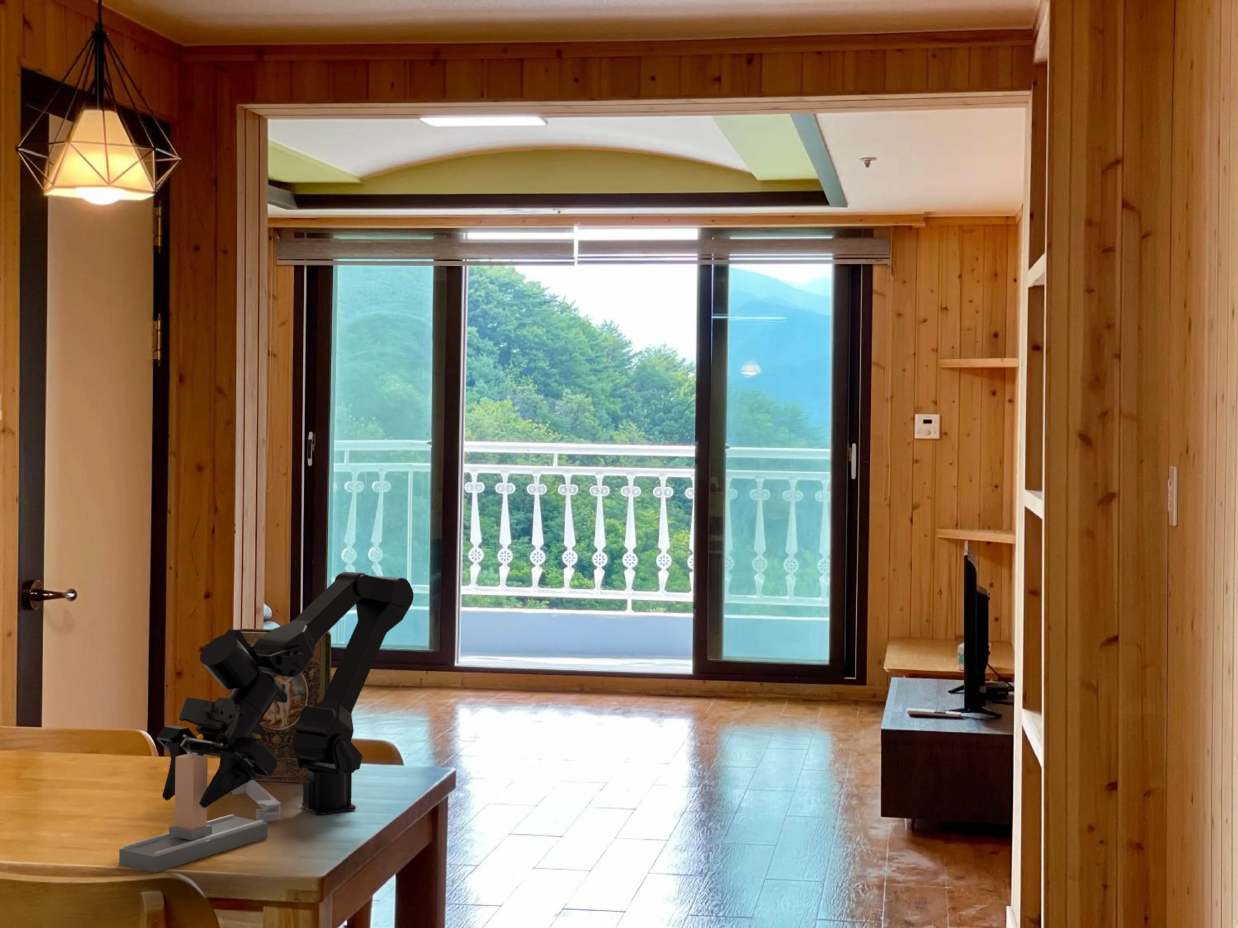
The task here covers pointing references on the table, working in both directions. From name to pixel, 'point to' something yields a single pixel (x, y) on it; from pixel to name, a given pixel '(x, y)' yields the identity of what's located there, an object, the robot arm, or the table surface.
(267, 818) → the door handle
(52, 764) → the table surface
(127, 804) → the table surface
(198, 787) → the fader
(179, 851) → the grey slider rail base
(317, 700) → the book
